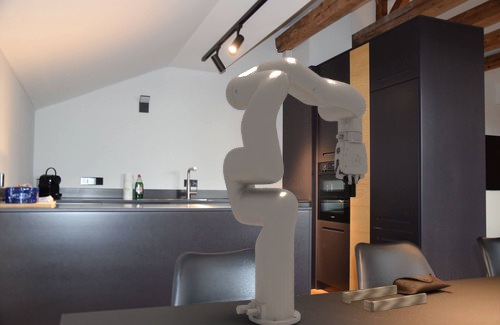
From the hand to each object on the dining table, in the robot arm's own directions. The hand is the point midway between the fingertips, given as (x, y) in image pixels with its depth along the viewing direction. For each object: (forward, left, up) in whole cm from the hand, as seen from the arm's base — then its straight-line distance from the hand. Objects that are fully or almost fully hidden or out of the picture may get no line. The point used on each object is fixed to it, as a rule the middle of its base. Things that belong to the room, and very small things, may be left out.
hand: (350, 197), depth 135 cm
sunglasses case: (+20, -12, -30) cm, 38 cm away
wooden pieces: (0, -14, -29) cm, 32 cm away
